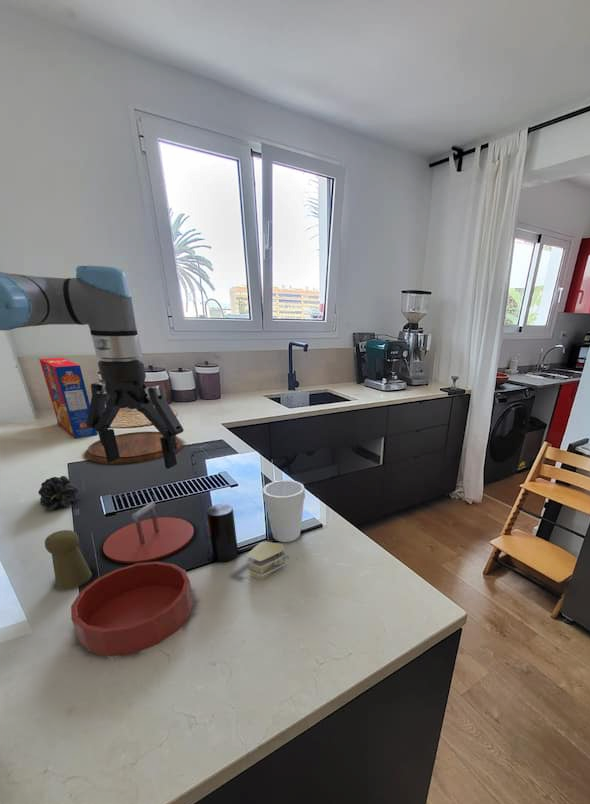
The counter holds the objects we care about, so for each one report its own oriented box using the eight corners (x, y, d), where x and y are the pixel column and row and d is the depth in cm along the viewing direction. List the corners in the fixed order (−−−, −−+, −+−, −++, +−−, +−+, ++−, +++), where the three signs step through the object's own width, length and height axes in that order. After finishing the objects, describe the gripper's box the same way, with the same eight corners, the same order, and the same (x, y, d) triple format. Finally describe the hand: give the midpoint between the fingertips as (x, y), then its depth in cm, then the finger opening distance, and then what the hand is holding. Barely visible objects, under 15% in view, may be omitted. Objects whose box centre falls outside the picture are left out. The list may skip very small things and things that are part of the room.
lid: (83, 559, 85) (71, 523, 81) (142, 517, 101) (135, 486, 98) (161, 571, 82) (153, 534, 78) (209, 526, 99) (204, 494, 95)
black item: (209, 562, 85) (201, 514, 80) (221, 549, 89) (214, 502, 84) (231, 565, 84) (225, 517, 79) (242, 552, 89) (237, 505, 84)
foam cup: (298, 549, 90) (296, 499, 85) (260, 545, 91) (256, 495, 86) (310, 529, 99) (309, 482, 93) (275, 524, 100) (272, 478, 95)
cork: (81, 568, 82) (66, 523, 77) (99, 577, 79) (85, 530, 75) (49, 585, 77) (32, 537, 72) (68, 595, 74) (51, 546, 70)
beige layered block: (268, 593, 76) (266, 570, 74) (234, 578, 80) (231, 555, 78) (299, 566, 84) (298, 545, 82) (267, 554, 88) (265, 533, 86)
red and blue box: (58, 424, 174) (39, 359, 163) (79, 420, 180) (62, 357, 168) (74, 438, 157) (54, 367, 145) (97, 434, 162) (79, 365, 151)
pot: (53, 647, 63) (42, 621, 61) (130, 579, 79) (124, 556, 77) (151, 666, 60) (144, 639, 58) (211, 592, 76) (207, 568, 74)
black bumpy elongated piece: (40, 464, 108) (40, 482, 97) (77, 467, 114) (81, 484, 103) (37, 493, 110) (36, 514, 99) (73, 495, 115) (76, 515, 104)
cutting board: (77, 470, 128) (75, 463, 127) (93, 441, 154) (91, 435, 153) (183, 458, 140) (182, 452, 139) (181, 433, 167) (180, 427, 166)
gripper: (46, 357, 73) (76, 463, 81) (167, 365, 69) (185, 475, 77) (79, 353, 79) (104, 451, 88) (191, 360, 75) (206, 462, 84)
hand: (142, 463), depth 83 cm, fingers open, 13 cm apart
